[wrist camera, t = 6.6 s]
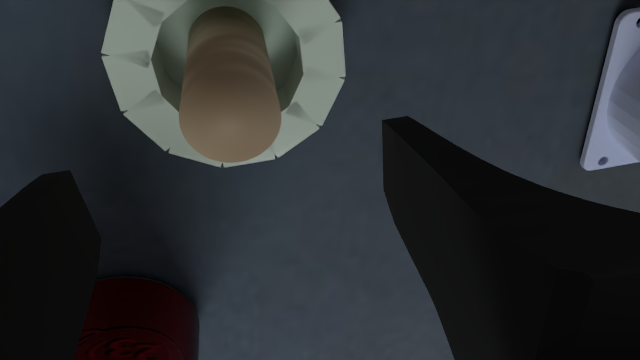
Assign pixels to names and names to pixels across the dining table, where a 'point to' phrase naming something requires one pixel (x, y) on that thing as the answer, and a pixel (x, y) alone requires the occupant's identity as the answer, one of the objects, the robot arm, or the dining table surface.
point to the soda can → (138, 322)
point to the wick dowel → (228, 88)
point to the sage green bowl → (170, 56)
